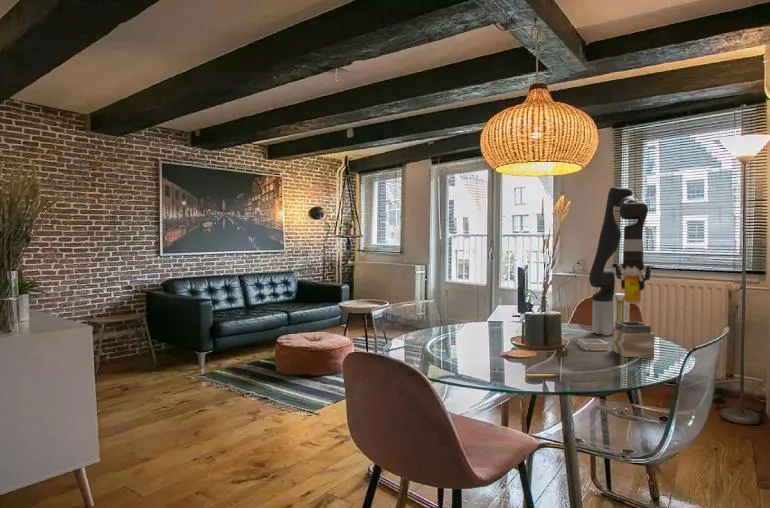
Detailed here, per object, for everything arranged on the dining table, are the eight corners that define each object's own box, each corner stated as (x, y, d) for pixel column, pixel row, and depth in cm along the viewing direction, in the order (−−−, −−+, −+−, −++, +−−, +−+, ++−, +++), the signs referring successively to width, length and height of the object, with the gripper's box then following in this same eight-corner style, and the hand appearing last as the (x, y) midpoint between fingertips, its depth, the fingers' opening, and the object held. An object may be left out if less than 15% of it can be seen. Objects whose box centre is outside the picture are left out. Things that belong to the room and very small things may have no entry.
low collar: (577, 345, 223) (577, 338, 223) (599, 345, 223) (599, 338, 223) (585, 350, 213) (585, 343, 213) (608, 350, 213) (608, 343, 213)
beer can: (636, 304, 200) (637, 268, 200) (622, 302, 205) (622, 267, 205) (643, 302, 204) (643, 267, 204) (628, 301, 209) (628, 266, 208)
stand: (611, 350, 212) (612, 321, 211) (639, 350, 211) (639, 321, 211) (624, 357, 200) (625, 326, 199) (654, 357, 199) (654, 326, 199)
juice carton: (629, 328, 261) (629, 293, 260) (627, 331, 253) (628, 295, 253) (614, 327, 265) (614, 292, 264) (612, 330, 257) (612, 294, 257)
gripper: (612, 250, 207) (611, 289, 207) (648, 250, 196) (648, 291, 197) (618, 249, 212) (618, 287, 212) (654, 250, 201) (654, 290, 202)
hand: (632, 289), depth 205 cm, fingers closed on beer can, 6 cm apart
